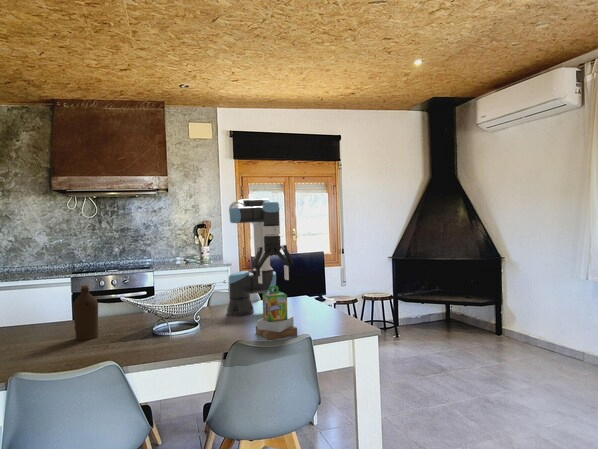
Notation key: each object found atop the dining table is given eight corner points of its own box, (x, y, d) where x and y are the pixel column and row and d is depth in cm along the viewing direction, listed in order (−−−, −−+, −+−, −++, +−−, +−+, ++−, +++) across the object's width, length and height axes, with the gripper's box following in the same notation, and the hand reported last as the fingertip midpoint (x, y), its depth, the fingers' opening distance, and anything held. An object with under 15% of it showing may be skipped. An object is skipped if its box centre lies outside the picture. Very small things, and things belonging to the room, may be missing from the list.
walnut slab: (256, 335, 187) (255, 326, 187) (282, 329, 194) (282, 321, 194) (270, 342, 175) (269, 333, 175) (297, 336, 182) (297, 327, 182)
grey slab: (257, 329, 182) (257, 320, 182) (272, 322, 192) (271, 314, 192) (279, 332, 176) (279, 323, 176) (293, 325, 186) (293, 316, 186)
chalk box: (269, 322, 178) (268, 289, 177) (262, 317, 186) (261, 286, 186) (288, 319, 181) (287, 286, 181) (281, 315, 190) (279, 283, 189)
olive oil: (104, 335, 193) (102, 283, 192) (85, 342, 183) (82, 287, 183) (89, 333, 197) (86, 283, 197) (69, 340, 188) (66, 286, 187)
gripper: (250, 237, 173) (252, 286, 174) (299, 233, 186) (301, 279, 187) (243, 236, 180) (245, 283, 181) (291, 233, 193) (293, 277, 194)
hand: (273, 281), depth 184 cm, fingers open, 13 cm apart
